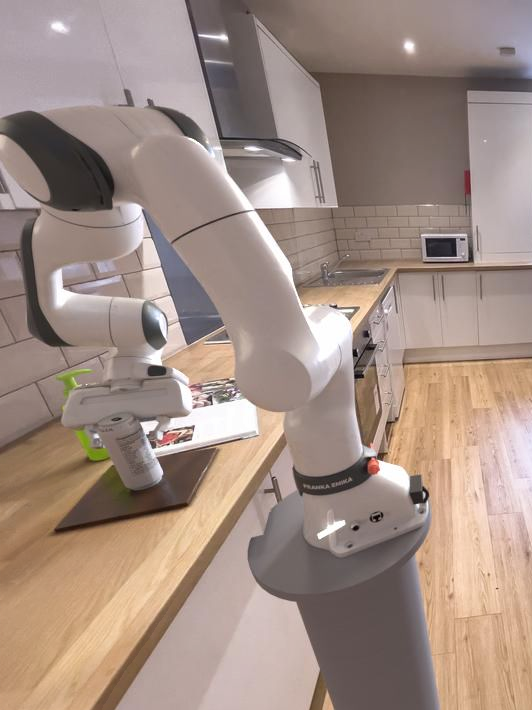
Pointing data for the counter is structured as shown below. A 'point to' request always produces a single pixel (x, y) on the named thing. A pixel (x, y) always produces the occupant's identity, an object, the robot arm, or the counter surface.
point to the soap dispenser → (84, 439)
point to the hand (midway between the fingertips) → (126, 444)
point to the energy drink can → (130, 450)
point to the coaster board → (141, 491)
